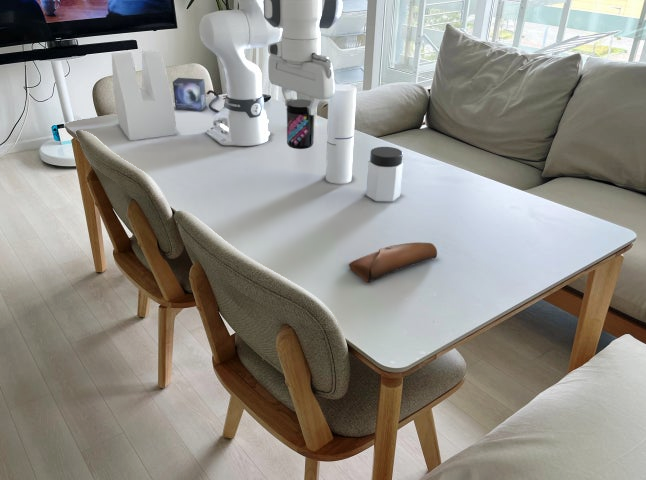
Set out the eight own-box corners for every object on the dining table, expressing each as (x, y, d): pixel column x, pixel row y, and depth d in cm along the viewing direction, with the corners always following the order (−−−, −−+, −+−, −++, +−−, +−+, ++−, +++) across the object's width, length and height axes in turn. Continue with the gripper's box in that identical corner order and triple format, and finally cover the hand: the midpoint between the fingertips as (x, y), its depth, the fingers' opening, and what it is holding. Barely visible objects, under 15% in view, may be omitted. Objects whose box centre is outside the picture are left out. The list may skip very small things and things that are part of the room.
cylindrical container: (349, 184, 161) (354, 91, 148) (323, 182, 162) (326, 89, 149) (352, 175, 167) (358, 85, 154) (328, 173, 168) (331, 83, 155)
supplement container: (281, 143, 148) (281, 101, 142) (305, 139, 150) (306, 98, 145) (294, 151, 143) (294, 108, 137) (318, 147, 145) (319, 105, 140)
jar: (398, 189, 158) (402, 146, 152) (402, 202, 151) (406, 157, 145) (364, 189, 158) (367, 146, 152) (367, 201, 152) (370, 157, 145)
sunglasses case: (410, 242, 131) (423, 225, 126) (427, 268, 129) (441, 251, 124) (345, 264, 123) (356, 247, 117) (362, 292, 120) (374, 275, 115)
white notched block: (118, 124, 206) (106, 48, 193) (162, 119, 211) (153, 45, 198) (130, 140, 191) (118, 59, 178) (176, 134, 197) (168, 55, 184)
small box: (174, 110, 221) (171, 81, 216) (180, 105, 227) (177, 77, 221) (201, 111, 220) (199, 82, 215) (207, 106, 226) (204, 78, 220)
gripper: (342, 55, 130) (339, 118, 137) (284, 41, 143) (284, 99, 150) (320, 59, 126) (319, 123, 134) (263, 44, 139) (264, 103, 147)
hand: (300, 110), depth 142 cm, fingers closed on supplement container, 7 cm apart
